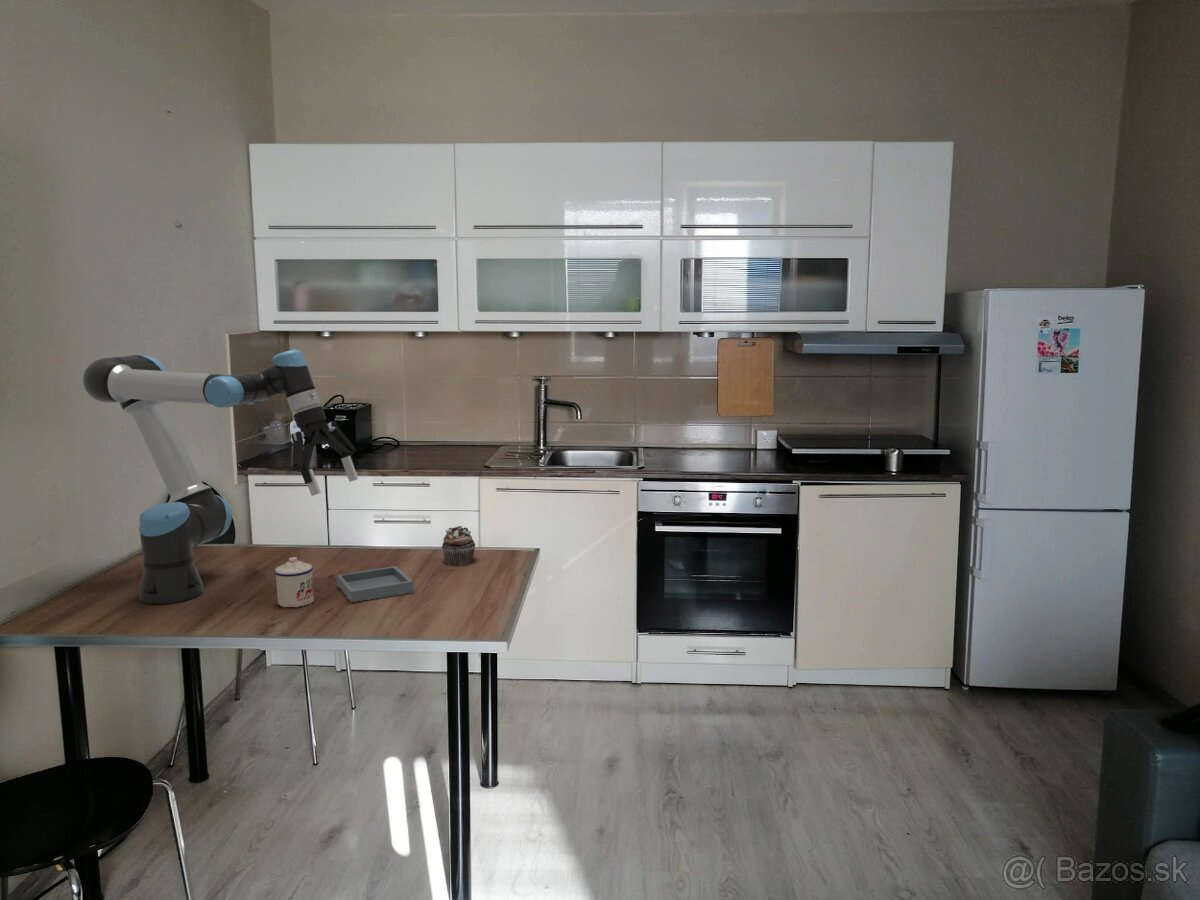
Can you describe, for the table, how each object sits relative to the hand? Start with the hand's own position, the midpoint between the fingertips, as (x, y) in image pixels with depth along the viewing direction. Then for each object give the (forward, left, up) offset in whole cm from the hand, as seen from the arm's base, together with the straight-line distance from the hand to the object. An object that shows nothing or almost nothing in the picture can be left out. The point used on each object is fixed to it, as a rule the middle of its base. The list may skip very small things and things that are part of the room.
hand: (335, 487), depth 233 cm
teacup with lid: (-12, -4, -27) cm, 30 cm away
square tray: (+7, -5, -27) cm, 29 cm away
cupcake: (+35, +8, -28) cm, 46 cm away
